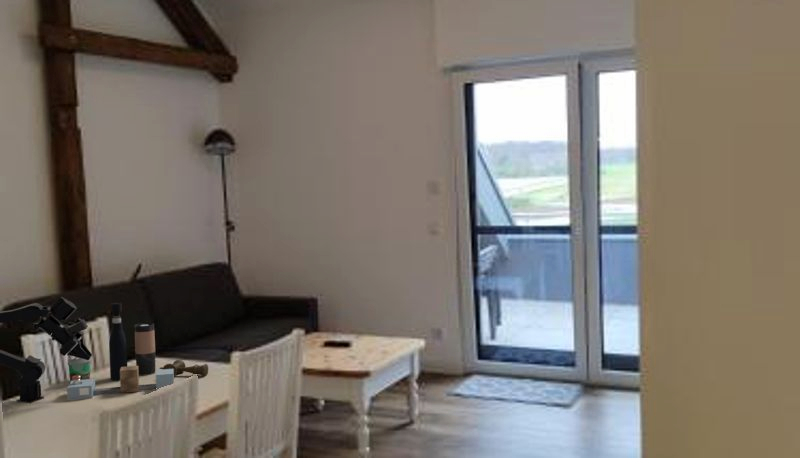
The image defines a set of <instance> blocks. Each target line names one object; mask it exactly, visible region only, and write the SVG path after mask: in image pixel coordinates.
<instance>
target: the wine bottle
mask: <svg viewBox="0 0 800 458" xmlns="http://www.w3.org/2000/svg"><path fill="white" fill-rule="evenodd" d="M110 308H111V309H110V312H111V313H112V320H111V321H112V323H111V333H110V336H109V339H108V340H109V342H108V349H109V355H108V356H109V374H110V375H109V376H110V381H120V369H121V367H128V350H127V348H128V347H127V338H126V334H125V332H124V330H123V322H122V318H121V312H122V310H123V309H122V308H123V307H122V302H113V303H110Z"/></svg>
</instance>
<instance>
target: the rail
mask: <svg viewBox="0 0 800 458" xmlns="http://www.w3.org/2000/svg"><path fill="white" fill-rule="evenodd" d="M156 388H157V387H156V383H147V384H139V386H138V391H137V392H142V391H141V390H144V391H153V390H152V389H155V390H157V389H156ZM107 394H108V395H109V394H122V393H121V388H120V386H115V387H114V386H113V387H102V388H95V389H94V390H93V396H99V395H107Z"/></svg>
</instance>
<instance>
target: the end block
mask: <svg viewBox="0 0 800 458" xmlns="http://www.w3.org/2000/svg"><path fill="white" fill-rule="evenodd" d="M155 380H156V381H155V384H156V387H157V389H159V388H161V387H164V386H167V385H171V384H173V383H174V384H175V377H174V369H164V370H163V369H156V372H155ZM157 389H156V390H157Z"/></svg>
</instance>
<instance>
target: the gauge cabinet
mask: <svg viewBox="0 0 800 458" xmlns="http://www.w3.org/2000/svg"><path fill="white" fill-rule="evenodd" d="M69 382H70V381H69ZM80 382H81V384H78V385H73V381H71V382H70V383H69V384H68V386H67V388H66V389H67V393H66V395H67V400H68V401H73V400H82V399H83V400H84V399H92V398H93V397H94V395H93V390H94V389H96V378H90V379H85V380H80Z"/></svg>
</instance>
